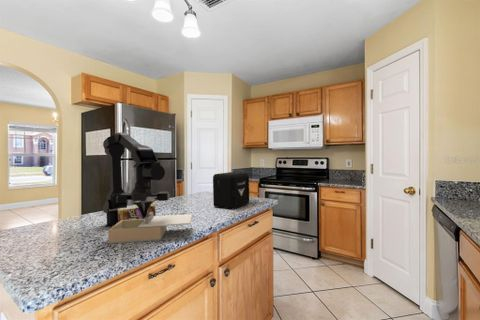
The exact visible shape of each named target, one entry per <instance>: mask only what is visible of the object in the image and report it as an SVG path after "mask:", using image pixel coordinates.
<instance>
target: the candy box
mask: <svg viewBox="0 0 480 320" xmlns="http://www.w3.org/2000/svg"><path fill="white" fill-rule="evenodd" d="M150 212H153V215H154V216H157V214H156V204H153V203H152V204H151V206H150V208H149V211H148V214H149V213H150ZM148 214H147V215H148ZM132 219H143V217H142V214H141V212H140V210H139V208H138V206H137V205H136V206H130V207H129V206H127V208H119V209H118V222H120V221H121V220H132Z"/></svg>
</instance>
